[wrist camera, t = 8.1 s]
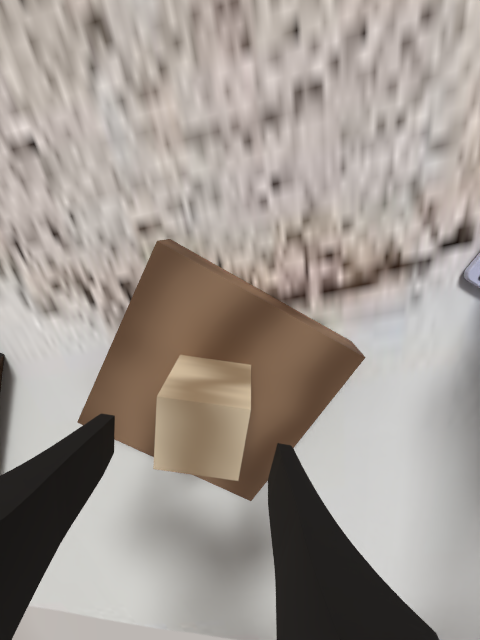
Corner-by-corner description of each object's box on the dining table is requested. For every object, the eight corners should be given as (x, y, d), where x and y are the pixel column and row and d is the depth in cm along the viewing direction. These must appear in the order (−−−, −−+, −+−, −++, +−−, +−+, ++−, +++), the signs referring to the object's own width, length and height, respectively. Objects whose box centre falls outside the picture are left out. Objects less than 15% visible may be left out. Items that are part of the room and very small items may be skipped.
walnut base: (351, 341, 19) (365, 357, 17) (250, 473, 23) (251, 501, 21) (169, 239, 18) (157, 240, 15) (96, 401, 22) (77, 422, 19)
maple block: (251, 364, 17) (250, 409, 13) (241, 423, 19) (238, 480, 15) (180, 354, 17) (156, 396, 13) (175, 414, 19) (153, 468, 15)
